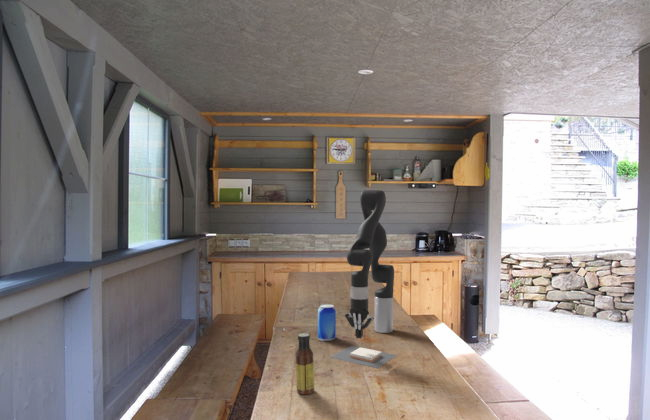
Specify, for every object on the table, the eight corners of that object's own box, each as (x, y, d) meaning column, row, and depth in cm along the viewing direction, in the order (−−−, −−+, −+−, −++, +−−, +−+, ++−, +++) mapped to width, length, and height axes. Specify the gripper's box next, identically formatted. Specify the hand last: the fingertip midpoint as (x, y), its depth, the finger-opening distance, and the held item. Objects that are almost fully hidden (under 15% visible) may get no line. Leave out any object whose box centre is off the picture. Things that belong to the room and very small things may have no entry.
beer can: (320, 342, 212) (320, 308, 212) (315, 337, 220) (315, 304, 220) (337, 341, 215) (338, 307, 214) (332, 336, 223) (332, 303, 222)
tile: (360, 347, 199) (381, 351, 194) (360, 351, 199) (381, 355, 194) (350, 353, 192) (371, 357, 186) (350, 357, 192) (371, 362, 186)
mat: (351, 347, 207) (351, 345, 207) (396, 356, 195) (396, 355, 195) (329, 358, 192) (329, 357, 192) (377, 369, 180) (377, 368, 180)
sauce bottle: (314, 387, 163) (314, 331, 162) (314, 395, 156) (314, 337, 156) (295, 388, 162) (295, 331, 162) (295, 395, 156) (295, 337, 156)
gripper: (377, 297, 193) (377, 338, 194) (350, 293, 200) (349, 333, 201) (369, 300, 187) (368, 343, 188) (341, 296, 194) (340, 337, 195)
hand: (359, 337), depth 194 cm, fingers closed
